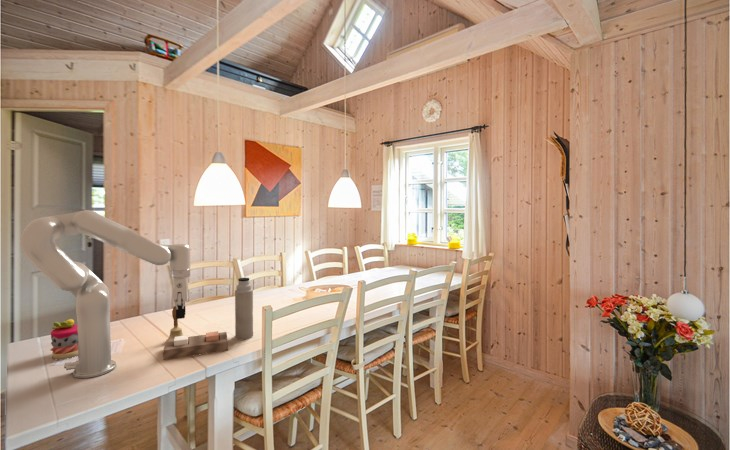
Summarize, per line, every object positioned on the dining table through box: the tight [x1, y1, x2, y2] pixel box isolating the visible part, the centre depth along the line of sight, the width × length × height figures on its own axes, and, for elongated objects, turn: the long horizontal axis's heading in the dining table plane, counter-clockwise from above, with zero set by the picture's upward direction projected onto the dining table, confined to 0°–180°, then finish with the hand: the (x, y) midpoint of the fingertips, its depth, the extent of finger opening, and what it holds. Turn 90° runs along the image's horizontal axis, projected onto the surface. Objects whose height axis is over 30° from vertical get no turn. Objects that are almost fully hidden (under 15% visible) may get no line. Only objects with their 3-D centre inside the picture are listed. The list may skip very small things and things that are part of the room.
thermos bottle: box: [234, 277, 254, 340], centre depth 163 cm, size 8×8×28 cm
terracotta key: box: [205, 330, 219, 342], centre depth 150 cm, size 5×5×3 cm
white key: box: [174, 334, 189, 346], centre depth 145 cm, size 5×5×3 cm
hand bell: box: [166, 305, 185, 340], centre depth 157 cm, size 8×8×16 cm
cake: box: [50, 318, 78, 360], centre depth 141 cm, size 10×10×15 cm
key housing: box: [162, 331, 229, 361], centre depth 148 cm, size 24×12×4 cm, turn 115°
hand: (180, 316), depth 145 cm, fingers open, 3 cm apart
